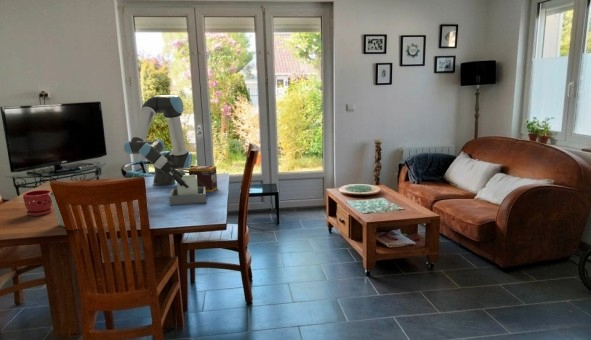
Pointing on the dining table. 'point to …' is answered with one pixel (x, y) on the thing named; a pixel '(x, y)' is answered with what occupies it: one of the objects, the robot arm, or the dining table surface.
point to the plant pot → (38, 202)
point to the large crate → (187, 197)
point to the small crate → (191, 181)
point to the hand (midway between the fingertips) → (192, 188)
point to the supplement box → (205, 177)
